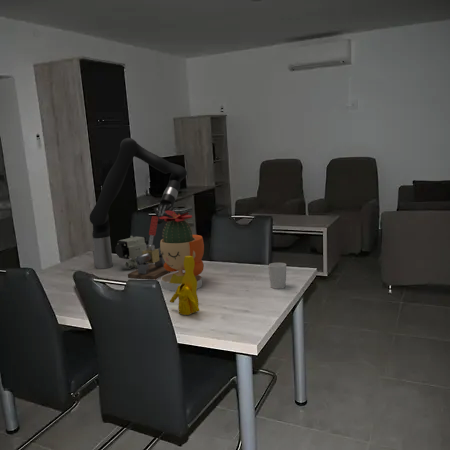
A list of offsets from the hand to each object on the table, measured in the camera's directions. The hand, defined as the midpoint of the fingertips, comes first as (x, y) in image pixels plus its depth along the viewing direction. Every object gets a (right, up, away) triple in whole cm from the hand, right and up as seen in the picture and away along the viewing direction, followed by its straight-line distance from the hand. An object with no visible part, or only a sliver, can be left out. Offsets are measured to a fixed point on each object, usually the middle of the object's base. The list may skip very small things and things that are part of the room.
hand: (158, 223), depth 237 cm
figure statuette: (+21, -35, -64) cm, 76 cm away
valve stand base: (-3, -26, -4) cm, 27 cm away
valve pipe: (-3, -24, -5) cm, 25 cm away
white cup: (+59, -29, -38) cm, 76 cm away
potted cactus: (+16, -29, -25) cm, 42 cm away
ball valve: (-15, -25, +10) cm, 30 cm away
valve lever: (-3, -12, -7) cm, 14 cm away
